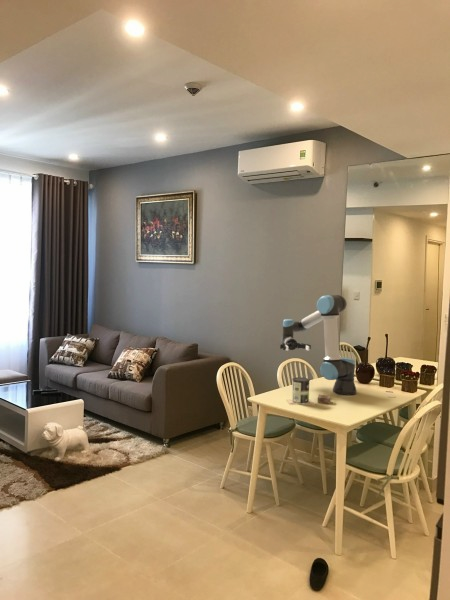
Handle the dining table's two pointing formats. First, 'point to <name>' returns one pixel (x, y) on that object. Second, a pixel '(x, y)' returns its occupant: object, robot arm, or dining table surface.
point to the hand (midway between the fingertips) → (298, 348)
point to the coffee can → (300, 390)
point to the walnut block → (324, 399)
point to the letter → (300, 404)
